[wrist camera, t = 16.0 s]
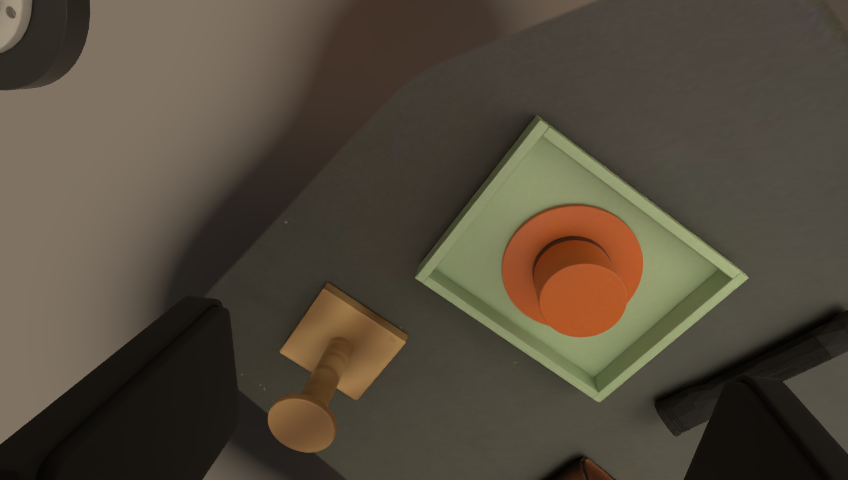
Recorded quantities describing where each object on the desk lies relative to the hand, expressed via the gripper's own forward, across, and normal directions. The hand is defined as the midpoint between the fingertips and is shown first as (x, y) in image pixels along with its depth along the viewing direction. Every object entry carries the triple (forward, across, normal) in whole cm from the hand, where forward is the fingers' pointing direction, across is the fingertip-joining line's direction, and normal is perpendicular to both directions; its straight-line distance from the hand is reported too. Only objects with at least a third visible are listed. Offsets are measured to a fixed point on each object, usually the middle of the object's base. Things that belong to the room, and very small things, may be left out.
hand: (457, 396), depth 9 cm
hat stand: (+28, +11, +20) cm, 36 cm away
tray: (+28, -8, +10) cm, 31 cm away
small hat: (+28, -8, +10) cm, 30 cm away
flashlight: (+28, -25, +17) cm, 41 cm away
